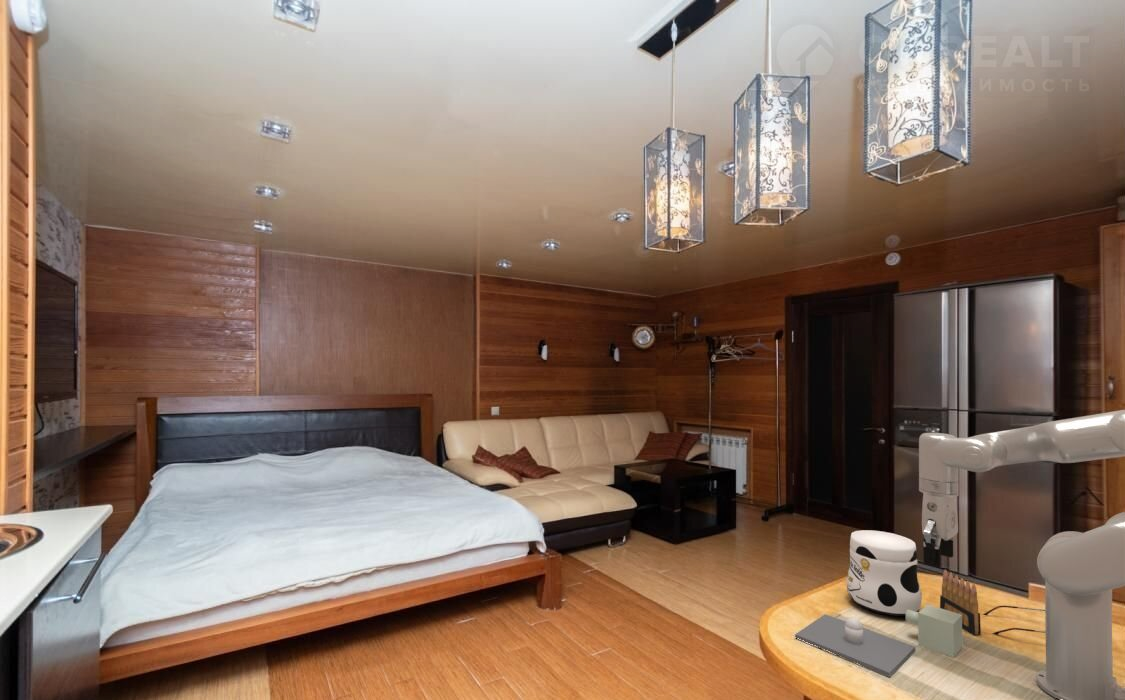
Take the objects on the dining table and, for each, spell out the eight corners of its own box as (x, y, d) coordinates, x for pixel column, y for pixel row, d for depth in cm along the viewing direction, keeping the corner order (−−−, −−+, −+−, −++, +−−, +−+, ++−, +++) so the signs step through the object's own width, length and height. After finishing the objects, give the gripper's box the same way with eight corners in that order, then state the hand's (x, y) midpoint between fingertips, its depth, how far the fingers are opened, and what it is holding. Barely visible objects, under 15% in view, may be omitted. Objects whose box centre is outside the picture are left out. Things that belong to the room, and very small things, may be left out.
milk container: (832, 597, 147) (831, 532, 147) (876, 588, 153) (876, 526, 154) (890, 626, 131) (889, 553, 131) (937, 615, 137) (936, 545, 137)
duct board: (915, 651, 120) (915, 624, 120) (889, 677, 109) (889, 648, 110) (825, 617, 135) (825, 594, 135) (795, 638, 125) (795, 612, 125)
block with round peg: (962, 647, 122) (962, 614, 122) (953, 657, 117) (953, 624, 117) (912, 630, 129) (912, 599, 129) (902, 639, 125) (902, 607, 125)
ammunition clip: (981, 635, 127) (980, 585, 127) (973, 635, 127) (973, 585, 127) (946, 614, 138) (945, 568, 138) (939, 614, 138) (939, 568, 138)
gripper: (946, 495, 114) (947, 575, 114) (968, 484, 126) (968, 556, 125) (907, 489, 120) (907, 564, 120) (931, 478, 131) (931, 547, 131)
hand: (938, 560), depth 123 cm, fingers open, 9 cm apart
